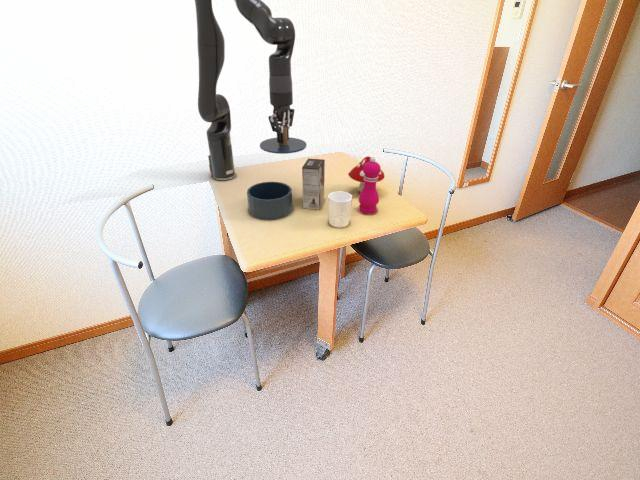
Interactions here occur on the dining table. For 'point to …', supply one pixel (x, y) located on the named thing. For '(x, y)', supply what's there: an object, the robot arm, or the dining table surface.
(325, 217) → the dining table surface
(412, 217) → the dining table surface
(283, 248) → the dining table surface
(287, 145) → the pot lid
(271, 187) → the pot
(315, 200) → the coffee box
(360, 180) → the decorative mushroom
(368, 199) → the pepper mill
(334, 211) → the white cup
